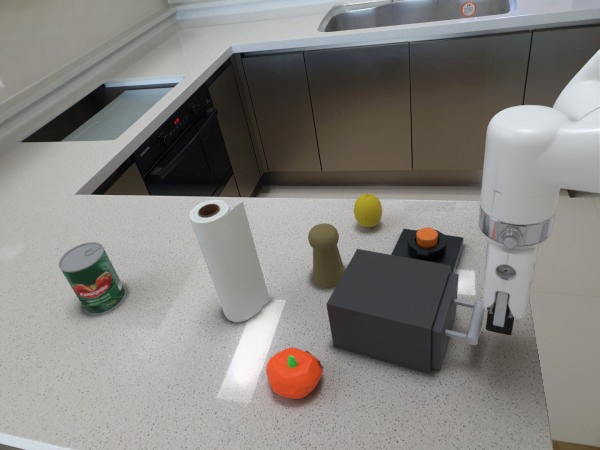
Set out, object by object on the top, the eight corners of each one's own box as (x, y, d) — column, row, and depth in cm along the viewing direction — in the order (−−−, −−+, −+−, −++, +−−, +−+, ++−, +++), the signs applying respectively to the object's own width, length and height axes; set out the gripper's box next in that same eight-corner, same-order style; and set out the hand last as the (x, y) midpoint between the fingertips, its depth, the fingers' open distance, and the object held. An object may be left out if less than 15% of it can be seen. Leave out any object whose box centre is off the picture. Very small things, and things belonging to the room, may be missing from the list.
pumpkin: (281, 357, 70) (273, 329, 67) (330, 369, 67) (325, 341, 64) (260, 397, 65) (251, 370, 62) (312, 413, 62) (305, 384, 58)
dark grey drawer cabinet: (449, 310, 73) (451, 265, 67) (430, 375, 64) (430, 329, 58) (361, 291, 79) (357, 248, 73) (333, 347, 70) (326, 303, 65)
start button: (439, 237, 82) (439, 229, 81) (434, 249, 79) (435, 241, 78) (419, 233, 83) (419, 226, 82) (414, 246, 81) (414, 238, 80)
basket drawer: (485, 317, 69) (490, 279, 65) (472, 379, 62) (476, 341, 57) (373, 292, 77) (369, 257, 73) (348, 344, 69) (343, 308, 65)
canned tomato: (96, 321, 83) (69, 277, 77) (77, 303, 88) (50, 260, 82) (134, 295, 87) (111, 251, 81) (114, 279, 92) (91, 236, 86)
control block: (462, 246, 84) (464, 229, 82) (453, 279, 78) (454, 261, 76) (403, 237, 89) (403, 220, 87) (389, 267, 83) (389, 250, 80)
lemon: (353, 221, 96) (349, 189, 91) (379, 216, 95) (377, 184, 91) (358, 237, 91) (355, 204, 86) (386, 232, 91) (384, 198, 86)
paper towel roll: (218, 319, 79) (180, 219, 66) (234, 295, 83) (201, 196, 71) (255, 327, 76) (223, 224, 64) (270, 301, 80) (242, 200, 68)
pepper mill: (324, 262, 87) (317, 215, 80) (352, 271, 83) (347, 223, 77) (306, 282, 83) (297, 234, 76) (335, 293, 80) (327, 244, 73)
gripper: (548, 268, 44) (524, 382, 55) (556, 186, 55) (534, 296, 65) (467, 255, 48) (459, 364, 58) (489, 180, 58) (478, 285, 69)
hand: (499, 328), depth 62 cm, fingers closed
